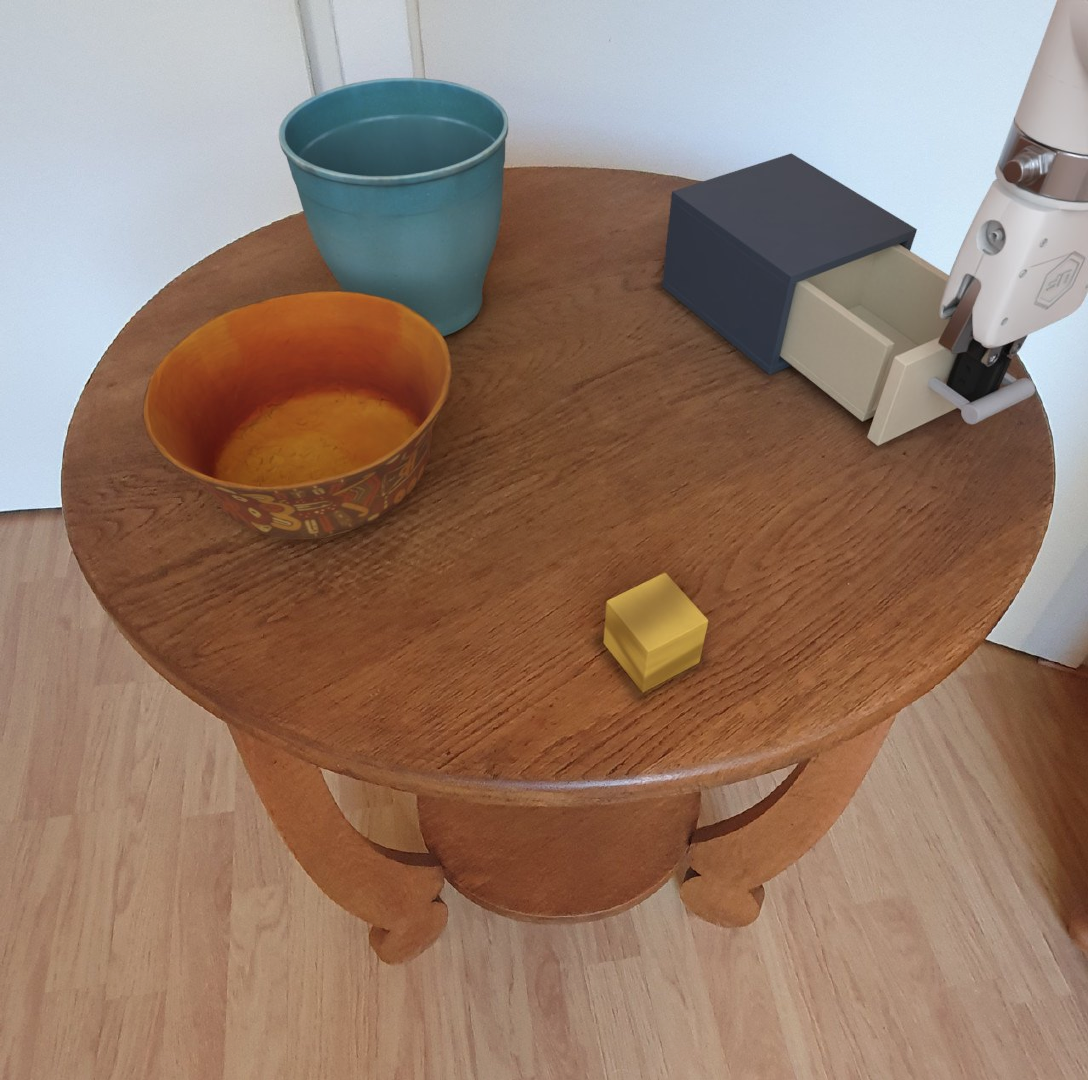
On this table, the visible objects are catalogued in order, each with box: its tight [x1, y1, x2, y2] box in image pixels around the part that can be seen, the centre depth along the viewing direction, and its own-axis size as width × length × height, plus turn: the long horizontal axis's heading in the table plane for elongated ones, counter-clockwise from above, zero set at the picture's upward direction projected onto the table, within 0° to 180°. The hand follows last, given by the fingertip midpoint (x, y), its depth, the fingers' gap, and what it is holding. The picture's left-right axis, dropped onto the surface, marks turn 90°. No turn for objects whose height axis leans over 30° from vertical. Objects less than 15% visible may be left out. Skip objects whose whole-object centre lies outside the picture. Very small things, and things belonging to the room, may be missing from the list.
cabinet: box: [661, 152, 918, 376], centre depth 83 cm, size 16×14×10 cm
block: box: [602, 572, 709, 694], centre depth 59 cm, size 4×4×4 cm
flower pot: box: [278, 77, 509, 338], centre depth 81 cm, size 18×18×17 cm
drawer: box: [780, 244, 1036, 447], centre depth 75 cm, size 19×12×8 cm, turn 31°
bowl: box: [141, 290, 453, 540], centre depth 68 cm, size 21×21×10 cm
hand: (968, 394), depth 71 cm, fingers closed
